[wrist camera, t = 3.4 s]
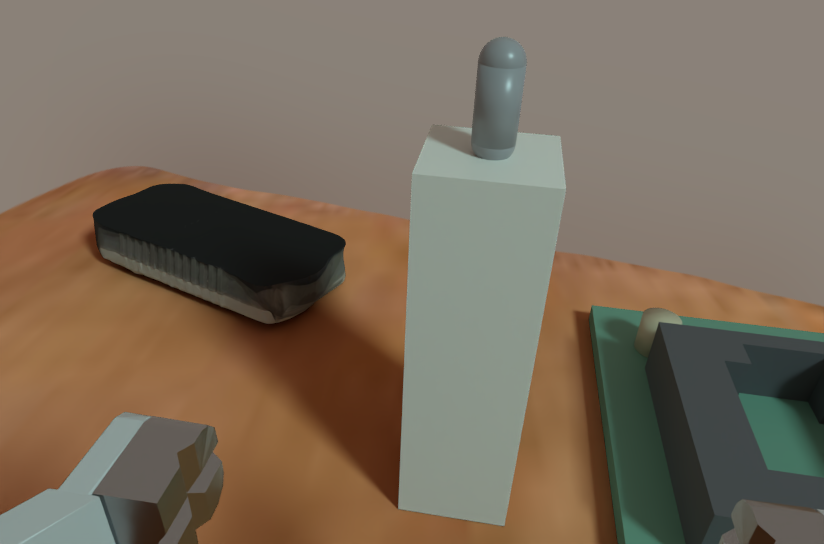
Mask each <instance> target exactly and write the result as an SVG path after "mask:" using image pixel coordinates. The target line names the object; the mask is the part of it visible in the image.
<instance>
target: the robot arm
mask: <svg viewBox="0 0 824 544" xmlns="http://www.w3.org/2000/svg"><path fill="white" fill-rule="evenodd" d="M217 443H218V440H217V435H216V431H215V427H212V426H209V425H203V424H197V423H191V422H185V421H179V420H173V419H167V418H161V417H155V416H147V415H141V414H134V413H128V412H124V413H122V414H120V415H119V416H117V417H115V418H114V419H113V421H112V422H111V423H110V424H109V426H108V427H107V428H106V430H105V431H104V432H103V433H102V435H101V436H100V437H99V438H98V440H97V441H96V442H95V443H94V445H93V446H92V447H91V448H90V450H89V451H88V452H87V453H86V455H85V456H84V457H83V458H82V460H81V461H80V462H79V463H78V465H77V466H76V467H75V469H74V470H73V471H72V472H71V474H70V475H69V476H68V477H67V479H66V480H65V481H64V482H63V484H62V485H61V486H60V487H59V489H58V490H57V489H47V490H45V491H44V492H42V493H40V494H38V495H36V496H34V497H33V498H31V499H29V500H27V501H25V502H23V503H22V504H20V505H18V506H16V507H14V508H13V509H11V510H9V511H7V512H5V513H3V514H2V515H0V544H198V539H197V535H196V529H197V528H199V527H200V526H202V525H203V524H204V523H206V522H207V521H209V520H210V519H211V518H212V515H213V513H214V511H215V509H216V507H217V505H218V503H219V499H220V495H221V491H222V488H223V475H224V471H223V466H222V461H221V460H220V459H219V458H218V457H217V456H216V455H215V454H214V453H213V450H214V449H215V447H216V445H217ZM731 518H732V521H733V524H734V527H735V528H734V529H732V530H730V531H728V532H726V533H724V534H723V535H722V536H721V539H720V542H719V544H824V510H820V509H812V508H808V507H800V506H793V505H785V504H777V503H769V502H761V501H754V500H746V499H742V500H740V501H739V502H738V503H737V504H736V505H735V507H734V509H733V511H732V514H731Z"/></svg>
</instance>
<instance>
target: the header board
mask: <svg viewBox="0 0 824 544" xmlns="http://www.w3.org/2000/svg"><path fill="white" fill-rule="evenodd" d="M589 324H590V332H591V340H592V348H593V355H594V363H595V371H596V378H597V386H598V394H599V402H600V409H601V417H602V425H603V432H604V440H605V448H606V456H607V463H608V471H609V479H610V486H611V494H612V502H613V510H614V517H615V525H616V533H617V540H618V544H719V542H720V539H721V536H722V535H723V534H724V533H726V532H728V531H730V530H732V529H734V528H735V527H734V524H733V521H732V518H731V514H732V511H733V509H734V507H735V505H736V504H737V503H738V502H739V501H740V500H742V499H746V500H754V501H761V502H769V503H777V504H785V505H793V506H800V507H808V508H812V509H820V510H824V333H816V332H808V331H799V330H791V329H783V328H775V327H766V326H758V325H750V324H741V323H733V322H725V321H717V320H708V319H700V318H692V317H683V316H678V315H676V314H675V313H673V312H671V311H669V310H666V309H662V308H649V309H646V310H645V311H644V312H642V311H634V310H625V309H617V308H609V307H601V306H592V307H591V312H590V316H589Z"/></svg>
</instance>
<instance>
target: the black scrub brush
mask: <svg viewBox="0 0 824 544" xmlns="http://www.w3.org/2000/svg"><path fill="white" fill-rule="evenodd" d="M93 218H94V226H95V234H96V241H97V246H98V249H99V251H100V253H101V255H102V257H103V258H104V259H108V260H110V261H112V262H114V263H116V264H119V265H121V266H123V267H126V268H127V269H129V270H131V271H132V272H134V273H136V274H143V275H145V276H147V277H150V278H152V279H155V280H158V281H160V282H163V283H164V284H167V285H170V286H171V287H174V288H177V289H179V290H181V291H184V292H187V293H189V294H192V295H195V296H196V297H199V298H202V299H204V300H207V301H209V302H212V303H213V304H217V305H219V306H221V307H224V308H227V309H230V310H232V311H235V312H237V313H240V314H242V315H244V316H247V317H249V318H252V319H254V320H257V321H260V322H263V323H266V324H273V323H278V322H282V321H284V320H287V319H290V318H292V317H294V316H296V315H298V314H300V313H302V312H303V311H305V310H306V309H308V308H309V307H310V306H311V305H312V304H314V303H315V302H316V301H317V300H318V299H320V298H322V297H323V296H324V295H326V294H327V293H328V292H330V291H332V290H333V289H335V288H336V287H337V286H339V285H340V284H342V282H343V281H344V279H345V276H346V275H345V266H344V260H343V251H344V247H345V245H346V242H345V240H344V239H343V238H342V237H340V236H338V235H336V234H333V233H331V232H328V231H325V230H322V229H319V228H316V227H313V226H310V225H307V224H304V223H300V222H297V221H295V220H292V219H289V218H286V217H283V216H279V215H276V214H273V213H270V212H267V211H264V210H261V209H258V208H255V207H252V206H249V205H246V204H242V203H239V202H236V201H233V200H230V199H227V198H224V197H221V196H218V195H215V194H212V193H209V192H206V191H204V190H201V189H198V188H196V187H194V186H190V185H186V184H160V185H155V186H152V187H149V188H147V189H145V190H143V191H140V192H138V193H136V194H133V195H130V196H127V197H124V198H121V199H118V200H116V201H114V202H111V203H109V204H107V205H105V206H103V207H101V208H99V209H97V210H96V211H95V212H93Z"/></svg>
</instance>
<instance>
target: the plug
mask: <svg viewBox="0 0 824 544" xmlns="http://www.w3.org/2000/svg"><path fill="white" fill-rule="evenodd" d="M526 63H527V59H526V54H525V51H524V49H523V47H522V46H521V45H520V44H519V43H518V42H517V41H515V40H514V39H512V38H508V37H499V38H495V39H493V40H491V41H490V42H488V43H487V44H486V45H485V46H484V48H483V49H482V51H481V53H480V55H479V60H478V70H477V80H476V91H475V102H474V113H473V124H472V128H464V127H452V126H442V125H432V126H431V129H430V132H429V134H428V136H427V139H426V141H425V143H424V146H423V148H422V151H421V153H420V156H419V158H418V160H417V163H416V165H415V168H414V170H413V173H412V186H411V210H410V234H409V259H408V283H407V307H406V331H405V355H404V379H403V404H402V428H401V452H400V476H399V500H398V509H402V510H408V511H414V512H420V513H427V514H433V515H439V516H445V517H451V518H457V519H463V520H470V521H476V522H482V523H488V524H494V525H500V526H504V525H505V520H506V514H507V509H508V503H509V498H510V492H511V487H512V481H513V476H514V471H515V465H516V460H517V454H518V449H519V443H520V438H521V432H522V427H523V422H524V416H525V411H526V405H527V400H528V394H529V389H530V383H531V378H532V372H533V367H534V362H535V356H536V351H537V345H538V340H539V334H540V329H541V323H542V318H543V313H544V307H545V302H546V296H547V291H548V285H549V280H550V274H551V269H552V264H553V258H554V253H555V247H556V242H557V236H558V231H559V225H560V220H561V214H562V209H563V204H564V198H565V193H566V183H565V174H564V165H563V156H562V147H561V138H560V136H552V135H541V134H529V133H519V132H518V124H519V117H520V110H521V102H522V94H523V87H524V79H525V71H526Z"/></svg>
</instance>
